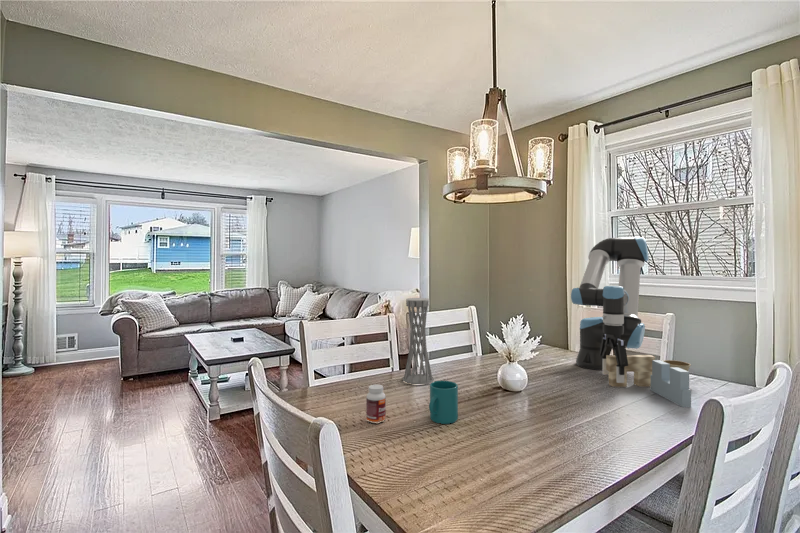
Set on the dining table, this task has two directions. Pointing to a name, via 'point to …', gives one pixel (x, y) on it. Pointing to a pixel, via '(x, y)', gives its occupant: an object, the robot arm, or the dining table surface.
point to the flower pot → (678, 364)
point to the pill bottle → (376, 404)
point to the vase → (418, 343)
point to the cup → (443, 402)
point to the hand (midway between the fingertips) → (613, 378)
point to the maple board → (631, 370)
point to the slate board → (671, 383)
